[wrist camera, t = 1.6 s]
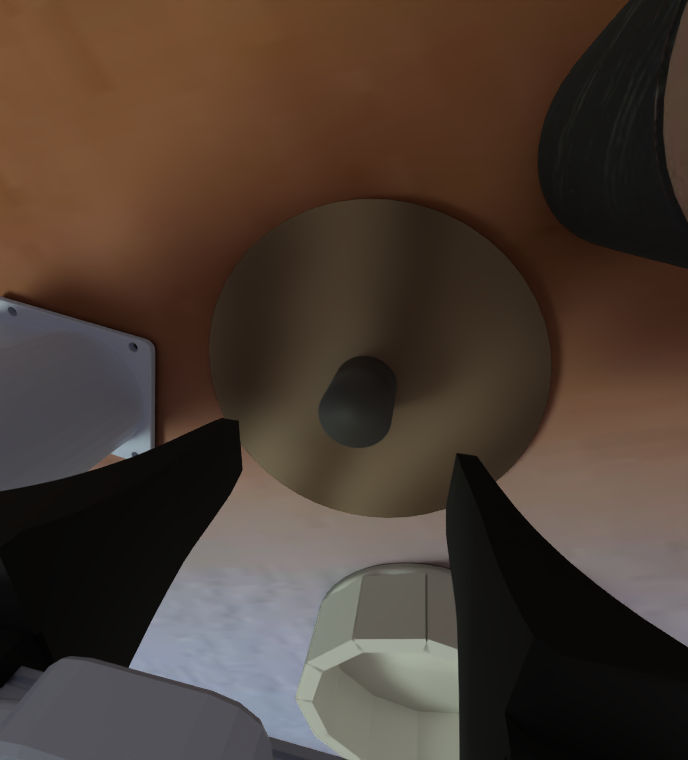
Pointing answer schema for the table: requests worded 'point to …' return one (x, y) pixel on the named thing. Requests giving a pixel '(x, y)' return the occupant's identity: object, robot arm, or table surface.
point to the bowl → (385, 666)
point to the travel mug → (624, 136)
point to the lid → (378, 355)
